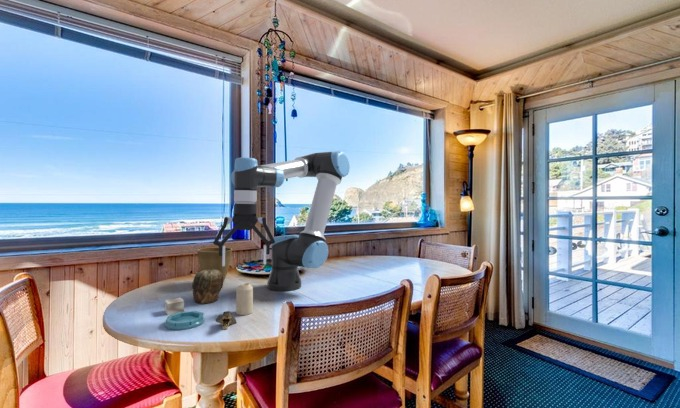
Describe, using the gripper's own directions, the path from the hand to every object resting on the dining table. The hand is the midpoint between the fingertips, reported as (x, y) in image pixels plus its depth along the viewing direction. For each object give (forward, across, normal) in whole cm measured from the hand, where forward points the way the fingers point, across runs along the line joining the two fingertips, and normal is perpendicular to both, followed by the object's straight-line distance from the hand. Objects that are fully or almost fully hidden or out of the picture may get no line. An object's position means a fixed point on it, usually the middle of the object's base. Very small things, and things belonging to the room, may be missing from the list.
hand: (244, 264), depth 113 cm
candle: (+17, 0, 0) cm, 17 cm away
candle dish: (+17, +18, +5) cm, 25 cm away
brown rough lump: (+17, +13, -17) cm, 27 cm away
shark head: (+17, +6, +12) cm, 21 cm away
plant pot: (+17, +12, -42) cm, 47 cm away
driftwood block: (+17, +23, -7) cm, 29 cm away
